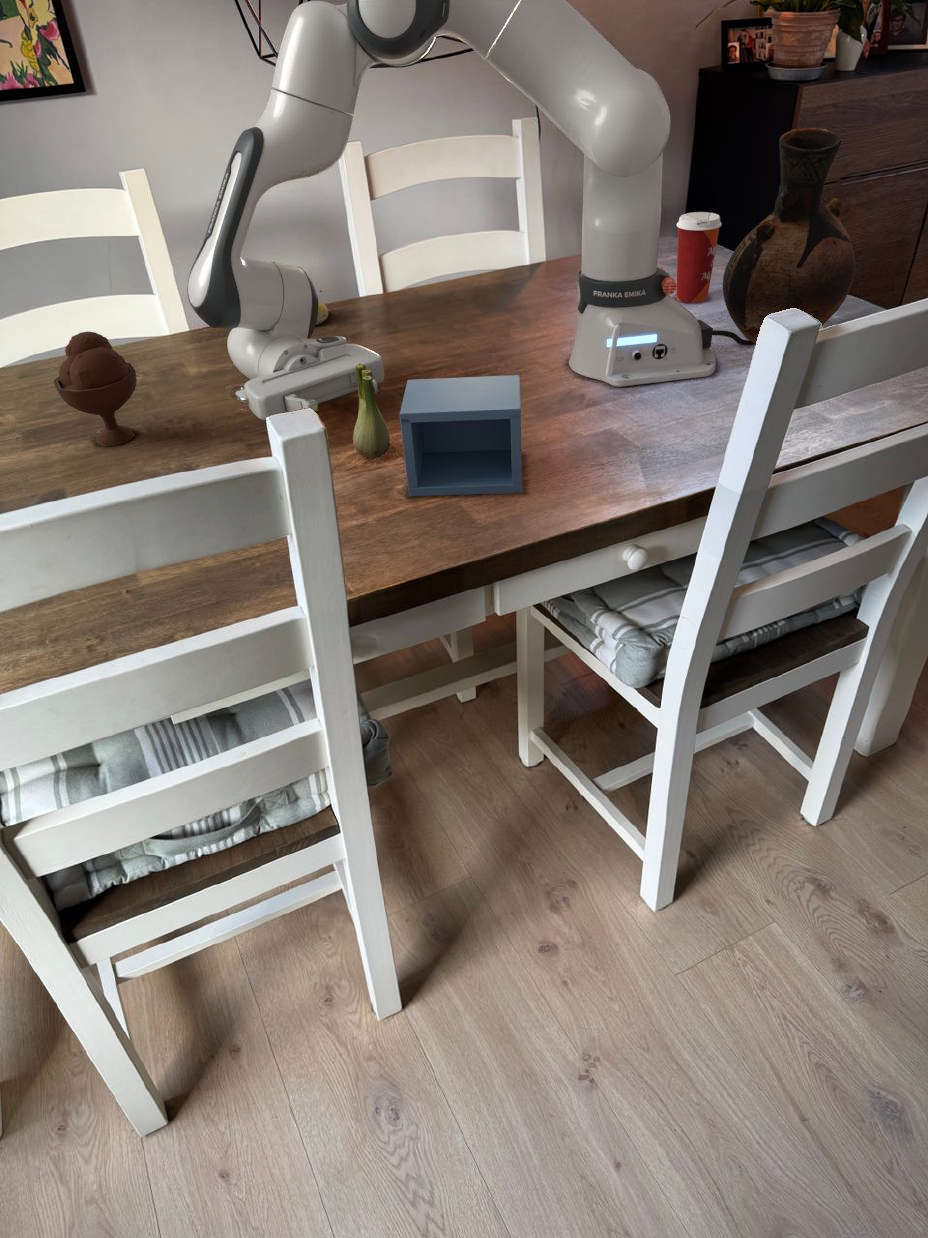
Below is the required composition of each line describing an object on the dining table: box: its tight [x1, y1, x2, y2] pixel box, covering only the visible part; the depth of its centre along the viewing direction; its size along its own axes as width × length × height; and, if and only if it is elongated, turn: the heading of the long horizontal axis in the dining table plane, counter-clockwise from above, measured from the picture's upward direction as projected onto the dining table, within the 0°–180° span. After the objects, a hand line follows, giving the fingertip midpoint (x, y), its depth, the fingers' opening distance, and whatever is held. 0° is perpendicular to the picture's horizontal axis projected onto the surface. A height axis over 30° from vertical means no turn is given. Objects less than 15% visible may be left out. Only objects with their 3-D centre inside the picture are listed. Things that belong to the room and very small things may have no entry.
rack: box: [399, 374, 523, 497], centre depth 106 cm, size 14×10×11 cm
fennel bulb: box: [352, 363, 391, 459], centre depth 112 cm, size 6×5×12 cm
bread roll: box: [315, 301, 329, 326], centre depth 160 cm, size 8×9×4 cm
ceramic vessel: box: [722, 127, 856, 344], centre depth 129 cm, size 21×18×30 cm
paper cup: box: [675, 211, 723, 304], centre depth 153 cm, size 8×8×14 cm
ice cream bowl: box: [52, 331, 137, 448], centre depth 120 cm, size 11×11×15 cm
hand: (343, 398), depth 116 cm, fingers open, 8 cm apart
